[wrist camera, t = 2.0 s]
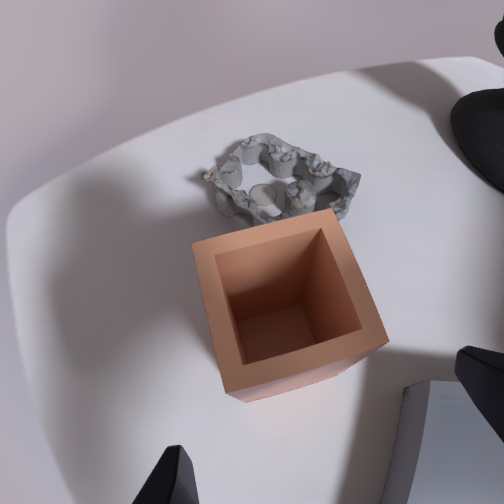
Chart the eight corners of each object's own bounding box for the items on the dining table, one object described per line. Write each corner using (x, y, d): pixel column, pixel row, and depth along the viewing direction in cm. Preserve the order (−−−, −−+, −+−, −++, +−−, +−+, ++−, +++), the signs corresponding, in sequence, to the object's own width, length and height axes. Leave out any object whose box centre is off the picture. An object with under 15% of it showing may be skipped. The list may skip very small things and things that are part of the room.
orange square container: (336, 375, 19) (389, 341, 10) (246, 402, 19) (225, 393, 10) (308, 293, 22) (331, 207, 13) (223, 317, 22) (191, 242, 13)
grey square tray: (513, 554, 9) (538, 562, 5) (348, 588, 11) (361, 613, 8) (550, 389, 16) (580, 379, 12) (404, 387, 18) (430, 380, 15)
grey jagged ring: (202, 207, 27) (192, 174, 23) (254, 152, 29) (251, 119, 26) (315, 272, 23) (323, 243, 20) (358, 203, 26) (369, 170, 22)
